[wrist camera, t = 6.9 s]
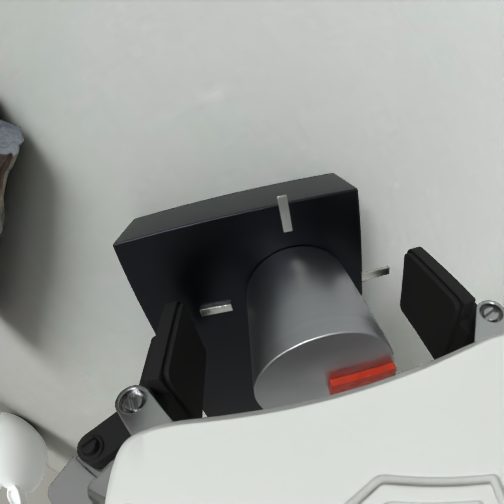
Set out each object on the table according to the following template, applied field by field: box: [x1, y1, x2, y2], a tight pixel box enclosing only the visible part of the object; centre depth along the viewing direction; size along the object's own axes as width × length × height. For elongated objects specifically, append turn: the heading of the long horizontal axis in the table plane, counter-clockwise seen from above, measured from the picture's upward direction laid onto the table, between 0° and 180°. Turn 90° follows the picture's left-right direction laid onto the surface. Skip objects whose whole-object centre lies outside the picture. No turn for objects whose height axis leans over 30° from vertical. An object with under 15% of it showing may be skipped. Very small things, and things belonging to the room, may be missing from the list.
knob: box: [247, 246, 396, 409], centre depth 10 cm, size 4×4×5 cm
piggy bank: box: [0, 412, 48, 504], centre depth 18 cm, size 12×12×15 cm
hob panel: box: [113, 173, 389, 417], centre depth 15 cm, size 14×11×3 cm
